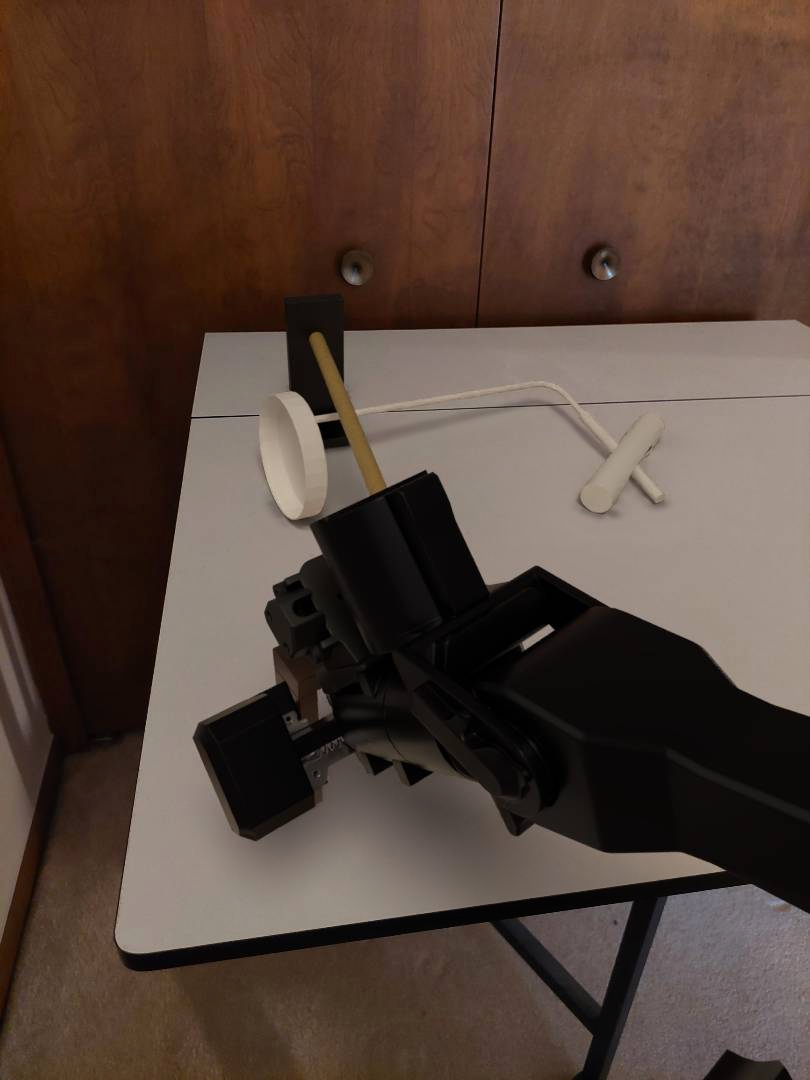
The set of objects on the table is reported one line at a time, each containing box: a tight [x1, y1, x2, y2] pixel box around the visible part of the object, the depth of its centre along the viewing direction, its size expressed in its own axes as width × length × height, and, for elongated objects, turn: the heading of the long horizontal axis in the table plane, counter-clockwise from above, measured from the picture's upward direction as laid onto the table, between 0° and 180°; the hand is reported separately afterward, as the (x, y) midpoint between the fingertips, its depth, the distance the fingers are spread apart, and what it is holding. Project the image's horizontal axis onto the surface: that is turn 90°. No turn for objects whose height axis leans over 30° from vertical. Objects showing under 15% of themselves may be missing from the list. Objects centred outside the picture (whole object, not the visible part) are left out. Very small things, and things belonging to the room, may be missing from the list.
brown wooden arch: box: [272, 645, 364, 806], centre depth 50 cm, size 3×6×13 cm, turn 125°
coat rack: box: [283, 292, 388, 496], centre depth 74 cm, size 48×8×16 cm, turn 16°
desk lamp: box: [258, 380, 667, 521], centre depth 85 cm, size 12×22×45 cm
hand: (322, 696), depth 51 cm, fingers closed on brown wooden arch, 6 cm apart
